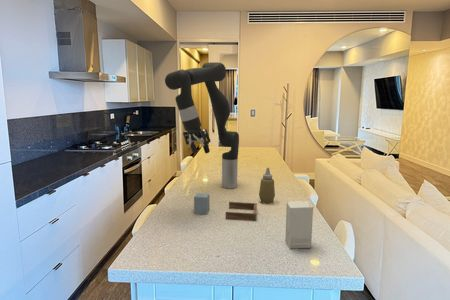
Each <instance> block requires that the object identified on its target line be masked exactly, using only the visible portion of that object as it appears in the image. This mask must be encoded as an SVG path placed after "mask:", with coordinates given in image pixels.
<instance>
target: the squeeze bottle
mask: <svg viewBox="0 0 450 300" xmlns="http://www.w3.org/2000/svg"><path fill="white" fill-rule="evenodd" d="M275 190H276V189H275V180H274V178H273V174H271V171H270V167H266V171H265V173H264V174H262V178H261V179H260V186H259V192H258V196H259V200H260V203H262V204H266V205H268V204H273V202H274V199H275V197H276V192H275Z"/></svg>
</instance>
